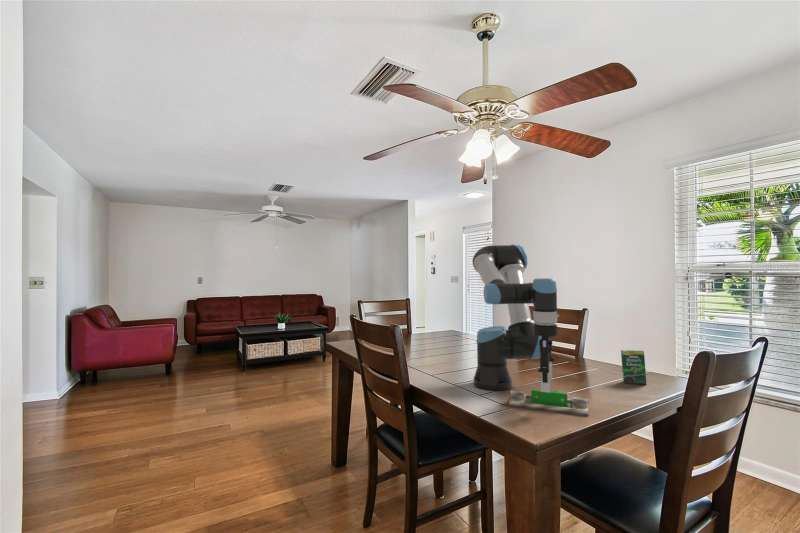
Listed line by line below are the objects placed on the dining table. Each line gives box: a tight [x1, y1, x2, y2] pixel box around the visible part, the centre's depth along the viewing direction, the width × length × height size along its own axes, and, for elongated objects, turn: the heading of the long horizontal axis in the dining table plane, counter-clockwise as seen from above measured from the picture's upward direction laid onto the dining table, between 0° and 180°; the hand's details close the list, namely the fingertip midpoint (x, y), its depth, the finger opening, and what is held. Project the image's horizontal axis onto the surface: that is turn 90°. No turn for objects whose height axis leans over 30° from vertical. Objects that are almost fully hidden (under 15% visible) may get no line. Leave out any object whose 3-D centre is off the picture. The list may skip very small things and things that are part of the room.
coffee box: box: [620, 349, 647, 385], centre depth 148 cm, size 8×3×13 cm, turn 63°
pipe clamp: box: [530, 389, 568, 408], centre depth 123 cm, size 11×4×5 cm, turn 65°
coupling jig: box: [508, 390, 590, 417], centre depth 124 cm, size 25×10×4 cm, turn 65°
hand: (546, 385), depth 125 cm, fingers open, 13 cm apart
